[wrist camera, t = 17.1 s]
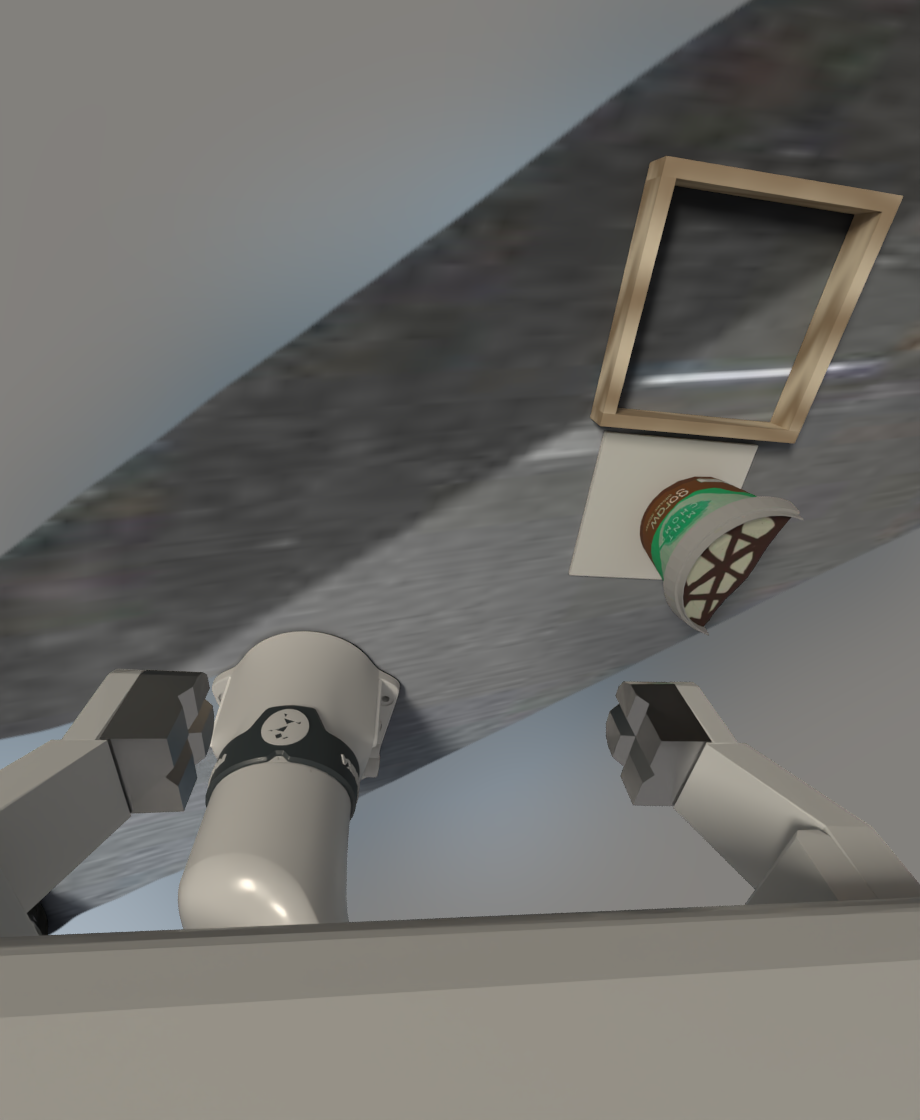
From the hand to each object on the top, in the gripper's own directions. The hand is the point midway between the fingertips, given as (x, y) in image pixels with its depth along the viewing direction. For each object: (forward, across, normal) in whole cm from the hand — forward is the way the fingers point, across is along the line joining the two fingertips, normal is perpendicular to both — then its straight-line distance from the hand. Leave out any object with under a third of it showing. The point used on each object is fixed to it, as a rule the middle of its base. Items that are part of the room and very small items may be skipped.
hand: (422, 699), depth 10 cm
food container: (+34, +24, -10) cm, 43 cm away
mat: (+34, +24, -10) cm, 43 cm away
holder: (+34, +24, +7) cm, 42 cm away
